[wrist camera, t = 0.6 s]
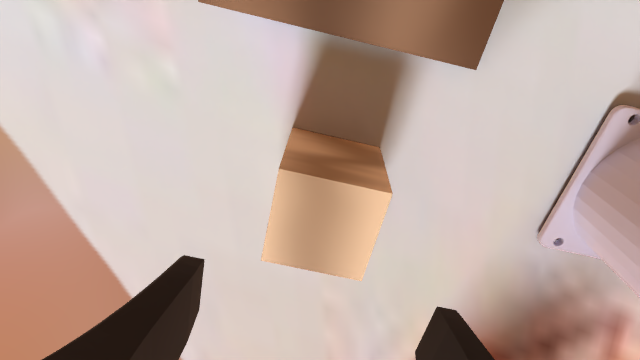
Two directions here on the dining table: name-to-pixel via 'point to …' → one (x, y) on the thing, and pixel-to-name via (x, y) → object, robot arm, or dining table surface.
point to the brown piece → (390, 23)
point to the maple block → (327, 205)
